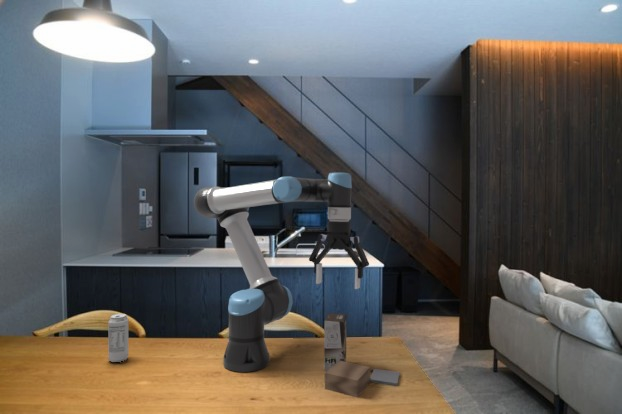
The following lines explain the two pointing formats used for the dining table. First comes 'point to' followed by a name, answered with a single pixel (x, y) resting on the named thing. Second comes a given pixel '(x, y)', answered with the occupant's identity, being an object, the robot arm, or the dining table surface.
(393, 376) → the slate coaster
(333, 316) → the coffee box
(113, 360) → the energy drink can
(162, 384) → the dining table surface
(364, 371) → the walnut block
